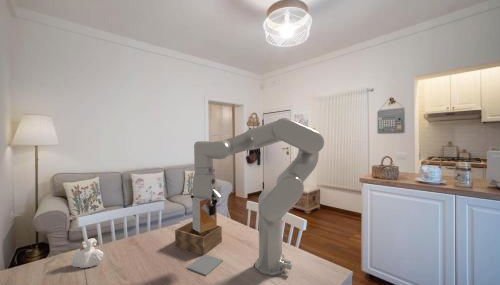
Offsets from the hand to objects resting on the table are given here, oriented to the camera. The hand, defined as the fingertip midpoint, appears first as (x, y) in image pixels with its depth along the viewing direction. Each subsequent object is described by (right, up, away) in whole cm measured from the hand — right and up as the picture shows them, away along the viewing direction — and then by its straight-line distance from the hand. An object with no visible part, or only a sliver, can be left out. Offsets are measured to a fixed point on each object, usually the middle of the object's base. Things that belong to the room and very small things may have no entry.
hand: (204, 212), depth 89 cm
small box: (0, -7, 0) cm, 7 cm away
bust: (-50, -23, +2) cm, 55 cm away
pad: (0, -22, +1) cm, 22 cm away
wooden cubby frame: (-7, -22, +18) cm, 29 cm away
